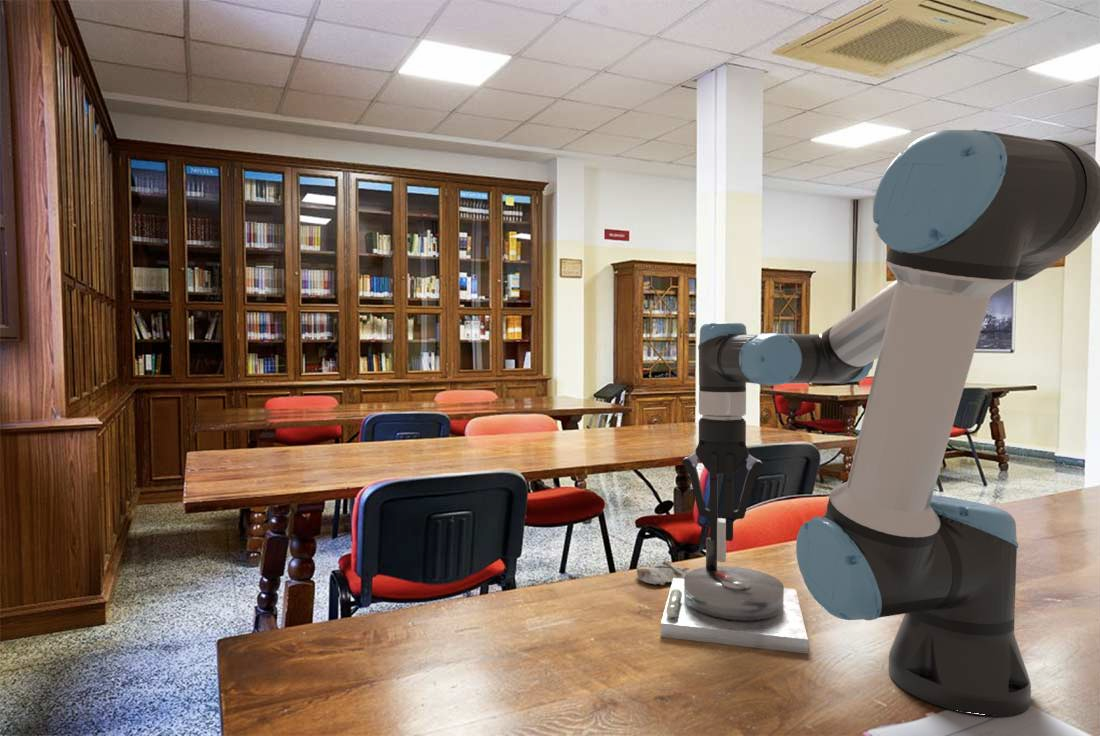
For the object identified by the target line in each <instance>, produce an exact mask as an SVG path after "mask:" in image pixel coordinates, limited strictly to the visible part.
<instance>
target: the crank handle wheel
mask: <svg viewBox="0 0 1100 736" xmlns="http://www.w3.org/2000/svg"><path fill="white" fill-rule="evenodd" d="M784 588H785V586H784V584H783V583H782V581H780V580H779V578H776V577H775V576H772V575H771V574H768V573H766V572H762V571H759V570H755V569H752V568H751V569H750V568H746V567H738V566H727V565H726V566H722V565H720V566H718V562H717V540H711V538H710V536H709V537H706V538H705V566H704V567H700V568H699V567H698V568H695V569H692V570H690V572H688V573H687V574H686V575H685V577H684V599H685V601H686V603H687V604H688V605H689V606H691V607H692V608H694V609H696V610H698V611H700V612H702V613H705V614H708V615H712V616H716V617H720V618H726V619H734V620H759V619H766V618H770V617H773V616H776V615H778V614H779V613H781V612H782V610H783V607H784Z"/></svg>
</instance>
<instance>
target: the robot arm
mask: <svg viewBox="0 0 1100 736" xmlns="http://www.w3.org/2000/svg"><path fill="white" fill-rule="evenodd" d="M872 205H873V206H872V219H873V220H872V221H873V222H874V223H875V224H876V225H877V227H876V228H875V232H876V233H877V235H878V238H880V240H881V241H882V242H883V243H884V244H885V245H886V246H888V251H887V254H886V260H885V264H886V265H887V267H888V269H889V271H890V272H891V273H892V274H893V276H894V277H895V280H894V281H893V282H891V283H890V284H889V285H888V286H886V287H885V288H883V289H882V290H880V291H879V292H878V293H876V294H875V295H873V296H871V297H870V298H869V299H868V300H867V301H866V302H864V303H862V304H861V305H859V306H858V307H857V308H856V309H855V310H853V311H852V312H850V313H849V314H847V315H846V316H845V317H843V318H842V319H841V320H839V321H838V322H836V323H835V324H834V325H832V326H831V327H829V328H828V329H826V330H825V331H824V332H821V333H818V334H817V333H814V334H812V333H810V334H807V333H802V334H801V333H799V334H798V333H797V334H795V333H794V334H793V333H791V334H790V333H778V332H760V333H754V334H753V333H751V334H747V332H748V331H747V326H746V325H745V324H744V323H741V322H715V323H714V322H707V323H704V324H702V325H701V327H700V328H699V339H698V340H699V343H698V345H697V348H698V349H697V350H698V386H699V387H698V414H699V415H701V416H702V417H700V418H699V419H698V442H697V443H698V444H697V446H696V448H695V452H693V453H692V454H690V455H689V456H685V457H684V458H683V459H682V465H683V467H684V468H685V470H686V471H687V472H688V475H689V478H690V479H689V480H690V483H691V488H692V492H693V495H694V500H695V505H696V508H697V512H698V515H699V516H700V517H702V518H703V517H704V518H706V519H708V521H709V537H710V538H711V540H717V563H727V561H726V560H727V542H733V539H734V522H735V521H736V520H737V521H738V520H742V519H744V518H745V516H746V513H747V508H748V505H749V502H750V497H751V493H752V490H753V487H754V482H755V478H756V476H757V475H758V473H759V472H760V471H761V469H762V468H763V462H762V460H761V459H758V458H755V457H754V456H752V455H751V454H750V451H749V448H748V447H747V445H746V444H747V442H746V441H747V438H746V437H747V435H746V434H747V432H746V431H747V421H746V420H745V418H744V417H745V416H746V415H747V384H754V385H760V386H764V387H767V386H780V385H786V384H837V385H838V384H839V385H841V384H843V385H844V384H848V383H855V382H859V381H861V380H863V379H865V378H866V377H867V376H868V375H869V373H870V371H871V370H872V369H873V366H874V364H875V360H877V361H876V366H875V371H874V374H873V378H872V382H871V387H870V391H869V394H868V398H867V402H866V407H865V410H864V414H863V418H862V423H861V426H860V431H859V435H858V439H857V443H856V448H855V451H854V454H853V460H852V462H851V467H850V471H849V476H848V479H847V481H846V482H843V483H840V484H838V485H836V486H834V487H833V488H832V489H831V490H830V493H829V497H828V502H827V504H826V508H825V509H826V510H825V513H824V515H823V516H820V515H819V516H818V515H817V516H814V517H812V518H810V519H809V520H808V521H805V522H804V523H803V524H802V525H801V526H800V528H799V530H798V533H797V537H796V542H795V543H796V544H795V545H796V546H795V547H796V549H795V551H796V552H795V553H796V561H797V565H798V568H799V572H800V574H801V576H802V578H803V581H804V584H805V586H806V588H807V590H808V591H809V593H810V594H811V596H812V598H813V599H814V600H815V602H816V603H817V604H818V605H819V606H820V607H821V608H822V609H823V610H825V612H826V613H828V614H829V615H831V616H833V617H835V618H838V619H840V620H843V621H844V620H846V621H856V620H857V621H859V620H864V621H873V620H877V619H878V618H879V619H880V618H887V617H890V616H891V617H893V616H897V615H898V616H899V615H903V618H902V620H901V622H900V625H899V628H898V630H897V633H896V635H895V638H894V640H893V642H892V644H891V647H890V650H889V654H888V673H889V676H890V678H891V680H892V681H893V682H894V683H895V684H896V685H897V686H898V687H900V688H901V689H903V690H904V691H906V692H907V693H909V694H910V695H911V696H914V697H916V698H918V699H920V700H922V701H924V702H927V703H929V704H932V705H934V706H937V707H941V708H944V709H948V710H951V711H954V710H958V711H962V712H961V713H963V712H971V713H979V714H985V715H995V716H994V717H1008V716H1014V715H1015V716H1016V715H1019V714H1021V713H1024V712H1025V711H1026V710H1028V709H1029V707H1030V706H1031V701H1032V696H1031V695H1032V689H1031V688H1032V685H1031V680H1030V677H1029V673H1028V671H1027V668H1026V665H1025V662H1024V658H1023V656H1022V652H1021V650H1020V648H1019V645H1018V642H1017V641H1018V640H1017V639H1016V635H1015V634H1016V633H1015V615H1016V614H1015V612H1016V611H1015V609H1016V585H1017V583H1016V582H1017V560H1018V557H1017V556H1018V554H1017V552H1018V548H1019V542H1018V541H1017V538H1018V537H1017V524H1016V520H1015V518H1014V516H1012V514H1010V513H1009V512H1007V511H1006V510H1005V509H1002V508H1000V507H997V506H994V505H989V504H985V503H981V502H976V501H972V500H967V499H962V498H957V497H950V496H943V495H938V494H937V495H936V494H934V491H935V488H936V485H937V481H938V478H939V474H940V470H941V467H942V464H943V460H944V457H945V454H946V450H947V447H948V443H949V440H950V437H951V433H952V431H953V430H952V429H953V427H954V424H955V419H956V415H957V412H958V410H959V406H960V402H961V399H962V396H963V392H964V388H965V385H966V382H967V380H968V379H967V378H968V376H969V372H970V369H971V365H972V361H973V358H974V353H975V350H976V348H977V344H978V341H979V337H980V334H981V331H982V327H983V324H984V321H985V320H984V319H985V316H986V314H987V310H988V306H989V303H990V299H991V297H992V296H993V295H995V293H996V292H999V291H1000V290H1002V289H1003V288H1005V287H1008V285H1011V284H1012V283H1014V282H1018V283H1019V282H1023V281H1027V280H1029V279H1030V278H1032V277H1034V276H1036V275H1037V274H1039V273H1041V272H1043V271H1045V270H1047V269H1048V268H1050V267H1051V266H1053V265H1055V264H1056V263H1057V262H1059V261H1061V260H1062V259H1064V258H1065V257H1067V256H1068V255H1070V254H1072V253H1073V252H1074V251H1075V250H1077V249H1078V248H1079V247H1080V246H1081V245H1082V244H1083V243H1084V242H1085V241H1086V240H1087V239H1089V238H1090V236H1091V235H1092V234H1093V232H1094V231H1095V230H1096V228H1097V227H1098V225H1099V223H1100V165H1099V163H1098V161H1097V160H1096V159H1095V158H1094V157H1093V156H1091V155H1090V154H1089V153H1088V152H1087V151H1086V150H1084V149H1082V148H1080V147H1078V146H1076V145H1074V144H1071V143H1068V142H1065V141H1060V140H1054V139H1045V138H1043V139H1041V138H1040V139H1039V138H1033V137H1026V136H1019V135H1014V134H1007V133H1001V132H996V131H989V130H979V129H977V128H974V129H971V130H970V129H945V130H944V129H943V130H938V131H934V132H930V133H928V134H925V135H923V136H921V137H919V138H917V139H916V140H913V142H912V143H910V144H909V145H908V146H907V148H906V150H904V151H901V152H899V153H898V154H897V155H896V157H894V159H893V160H892V161H891V162H890V164H889V166H888V167H887V168H886V170H885V172H884V173H883V175H882V176H881V179H880V181H879V183H878V186H877V187H876V190H875V195H874V201H873V204H872ZM698 460H699V461H700V463H701V464H702V465H703V467H704V468H705V469H706V470H707V472H709V508H707V505H706V501H705V497H704V493H703V490H702V489H703V488H702V484H701V481H700V477H699V472H698V468H697V467H698V466H699V463H698ZM745 462H746V469H747V473H746V476H745V480H744V484H743V488H742V491H741V494H740V499H739V502H738V506H737V509H736V510H734V482H735V481H734V476H735V475H734V474H735V473H737V472H738V470H739V469H740V468H741V467H742V465H743V464H744V463H745ZM719 474H724V475H725V518H722V517H720V518H719V516H718V515H719V511H718V509H719V508H718V507H719V501H718V500H719V498H718V497H719ZM958 711H957V712H958Z"/></svg>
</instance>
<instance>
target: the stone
mask: <svg viewBox="0 0 1100 736" xmlns="http://www.w3.org/2000/svg"><path fill="white" fill-rule="evenodd" d="M649 567H651V568H649ZM643 568H645V569H643ZM690 571H691V569H690V568H689V567H688V568H687V567H684V566H680V565H675V564H670V563H668V562H666V560H663V562H661V563H660V562H659V563H657V564H653V565H651V566H641V567H639V568H637V569H636V574H637V578H638V581H640V582H644V583H647V584H652V585H653V586H657V585H660V586H665V585H666V583H672V581H673V578H681V579H684V577H685V575H686V574H687V573H688V572H690Z"/></svg>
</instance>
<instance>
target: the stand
mask: <svg viewBox="0 0 1100 736" xmlns="http://www.w3.org/2000/svg"><path fill="white" fill-rule="evenodd" d="M666 599H667V600H666V602H665V607H664V610H663V614H662V618H661V622H660V637H661V638H668V639H675V640H676V639H678V640H684V641H685V640H686V641H693V642H703V643H710V644H719V645H727V646H729V645H730V646H736V647H746V648H752V649H753V648H755V649H763V650H770V651H778V652H779V651H780V652H787V653H795V654H796V653H797V654H804V655H805V654H806V655H808V654H809V653H808V651H809V638H808V633H807V629H806V626H805V622H804V618H803V614H802V609H801V606H800V601H799V597H798V592H797V589H796V588H790V587H789V588H787V587H784V607H783V610H782V612H781V613H779V614H778V615H776V616H773V617H770V618H766V619H759V620H734V619H726V618H720V617H716V616H712V615H708V614H705V613H702V612H700V611H698V610H696V609H694V608H692V607H691V606H689V605H688V604H687V603H686V601H685V599H684V579H681V578H673V581H672V582H671V585H670V588H669V593H668V596H667V598H666Z"/></svg>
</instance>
